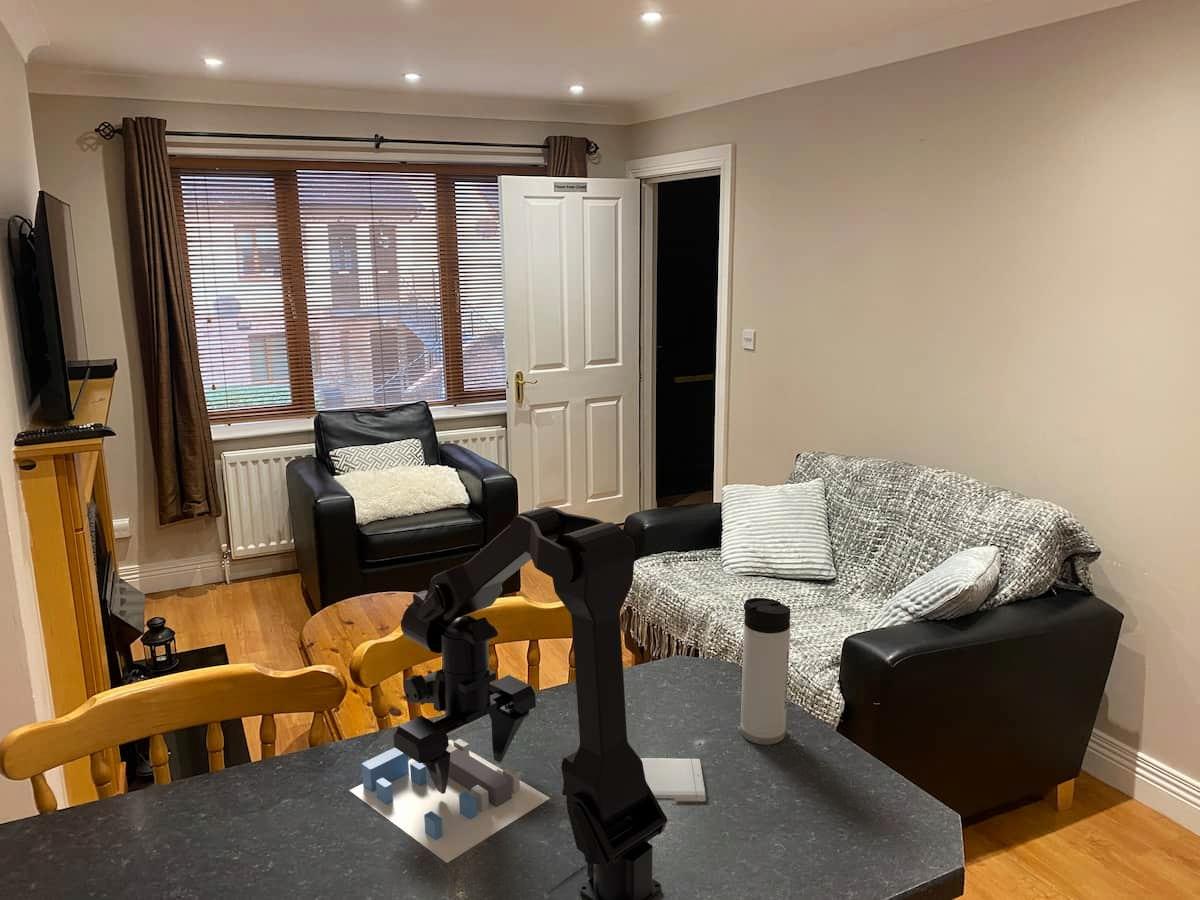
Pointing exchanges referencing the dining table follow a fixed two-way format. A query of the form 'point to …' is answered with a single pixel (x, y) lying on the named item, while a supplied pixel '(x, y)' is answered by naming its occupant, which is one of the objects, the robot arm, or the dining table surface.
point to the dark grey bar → (478, 776)
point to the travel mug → (765, 670)
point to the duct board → (440, 802)
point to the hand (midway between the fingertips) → (470, 776)
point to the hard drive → (675, 778)
